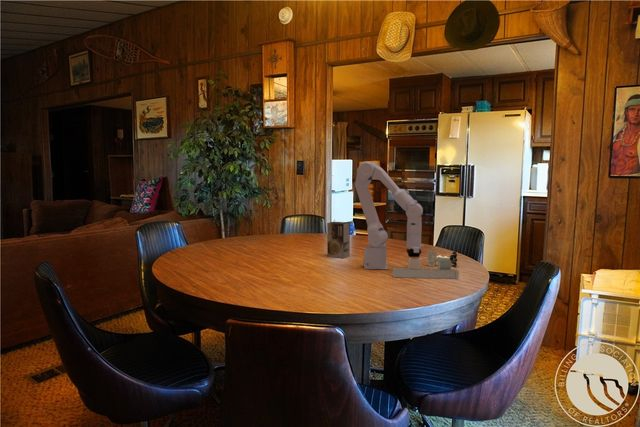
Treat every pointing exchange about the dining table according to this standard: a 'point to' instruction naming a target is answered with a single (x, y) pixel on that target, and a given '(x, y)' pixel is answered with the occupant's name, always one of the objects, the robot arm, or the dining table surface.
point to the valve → (433, 258)
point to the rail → (429, 271)
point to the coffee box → (338, 239)
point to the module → (414, 262)
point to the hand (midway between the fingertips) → (413, 267)
